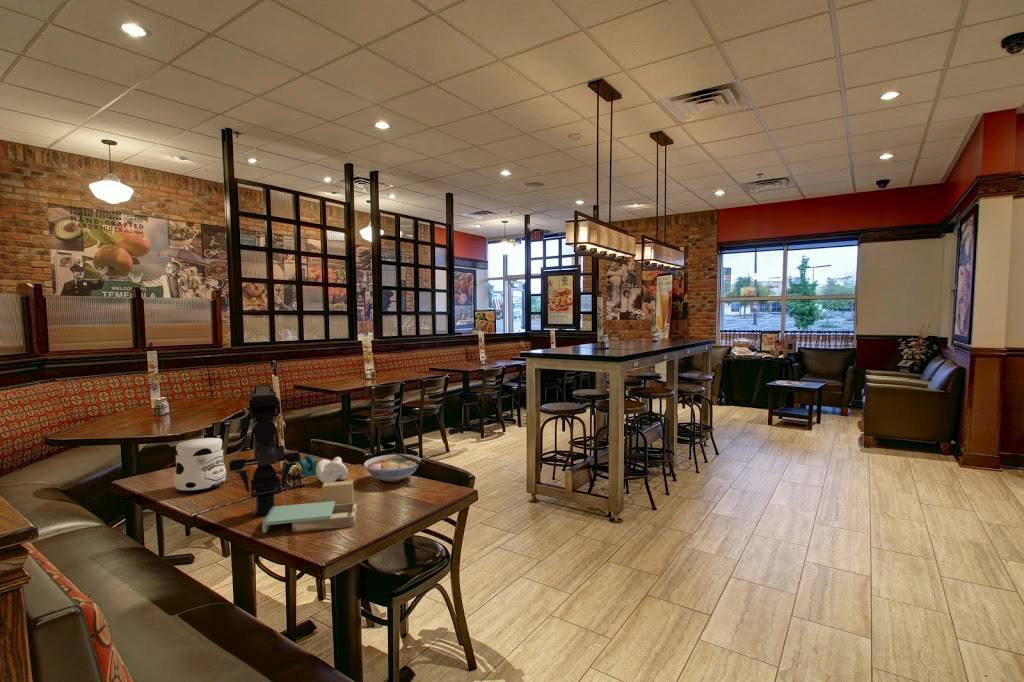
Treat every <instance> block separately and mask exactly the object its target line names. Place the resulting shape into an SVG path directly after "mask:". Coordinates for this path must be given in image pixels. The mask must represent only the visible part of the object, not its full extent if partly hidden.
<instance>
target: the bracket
mask: <svg viewBox="0 0 1024 682" xmlns="http://www.w3.org/2000/svg"><path fill="white" fill-rule="evenodd" d="M299 464H300V466H301V468H302V474H303V478H302V479H306V478H309V477H312V476H317V473H316V467H317V464H318V460H317V458H316V456H314V455H313V454H310V455H307V456H303V457H300V461H299ZM279 468H280V469H279V470H280V471H279V473H280V474H282V470H281V466H280V467H279Z"/></svg>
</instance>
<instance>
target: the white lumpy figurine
mask: <svg viewBox="0 0 1024 682" xmlns="http://www.w3.org/2000/svg"><path fill="white" fill-rule="evenodd" d="M316 473H317V474H316V476H317V479H318V480H320V482H321V483H323V484H324V483H328V482H337V480H339V481H344V480H346V478H348V476H349V470H348V467H346V465H345V464H344V463H343V459H342V458H341V457H340V456H336V457H334V458H333V459H332V460H331V461H330V460H329V459H321V460H319V461H317V467H316Z"/></svg>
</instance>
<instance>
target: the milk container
mask: <svg viewBox="0 0 1024 682" xmlns="http://www.w3.org/2000/svg"><path fill="white" fill-rule="evenodd" d="M223 448H224V446H223V439H222V438H218V437H204V438H194V439H188V440H184V441H181V442H178V443H176V447H175V464H176V465H175V471H174V473H173V485H174V488H175V489H176V490H177V491H179V492H183V493H197V492H202V491H203V492H204V491H207V490H211V489H214V488H217V487H219V486H222V484H224V482H225V480H226V479H227V468H226V465H225V463H224V449H223Z"/></svg>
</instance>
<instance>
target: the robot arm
mask: <svg viewBox="0 0 1024 682" xmlns="http://www.w3.org/2000/svg"><path fill="white" fill-rule="evenodd" d="M248 403H249V404H248V406H249V407H248V409H249V410H248V411H249V415H248V417H249V418H248V419H249V420H253V419H254V421H253V422H252V425H253V426H252V428H253V429H252V433H253V458H249V459H248V458H247V459H245V457H244V456H240V457H233V458H229V460H228V461H227V466H228V467H227V468H228V471H229V472H233V473H234V474H239V476H240V477H241V480H242V483H243V484H244V487H245V490H246V493H248V494H249V493H250V498H252V499H253V498H255V511H254V512H253V514H252V516H253V517H257V516H267V514H268V513H269V511H270V510H271V508H272V507H275V506H276V496H275V495H277V494H278V495H279V494H280V493H281V492H282V488H284V487H285V484H286V481H287V477H288V476H289V475H288V472H289V470H290V468H291V467H292V465H296V463H295V462H299V461H300V458H301V453H300V452H299V451H298V450H296V449H295V450H290V451H289V450H288V451H285V445H284V444H283V445H277V446H276V431H277V426H276V421H275V419H274V418H278V417H279V415H280V414H282V413H281V401H280V399H279V397H278V395H277V392H276V391H275V390H273V389H272V385H271V384H256V385H254V390H252V391H251V392H250V393H249V394H248ZM278 462H282V463H281V464H282V465H281V466H282V473H281V479H280V477H279V475H277V470H276V469H275V468H274V466H273V465H277V463H278ZM255 465H257V467H256V469H255V470H254V472H253V474H252V478H251V479H250V485H249V479H248V478H249V477H248V474H247V473H248V472H247V468H246V467H247V466H248V467H249V466H255Z"/></svg>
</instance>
